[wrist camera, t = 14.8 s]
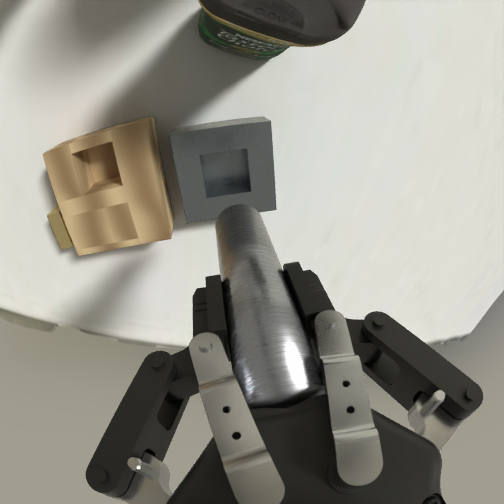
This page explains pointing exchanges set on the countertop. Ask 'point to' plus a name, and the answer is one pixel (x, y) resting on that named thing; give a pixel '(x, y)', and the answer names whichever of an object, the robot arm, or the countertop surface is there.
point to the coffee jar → (274, 24)
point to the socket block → (112, 187)
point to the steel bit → (262, 316)
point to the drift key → (60, 228)
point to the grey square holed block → (224, 166)
